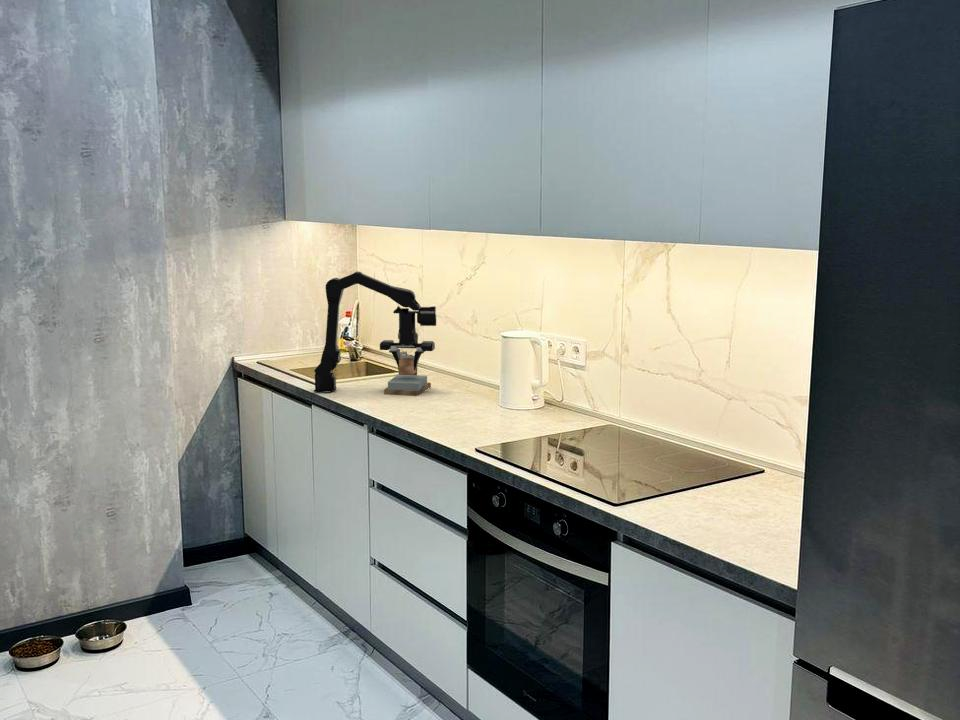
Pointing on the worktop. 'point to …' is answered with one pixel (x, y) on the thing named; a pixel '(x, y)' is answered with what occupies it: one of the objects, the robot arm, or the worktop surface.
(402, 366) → the terracotta block
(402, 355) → the food container
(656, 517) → the worktop surface
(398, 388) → the slate grey slab
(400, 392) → the walnut slab
